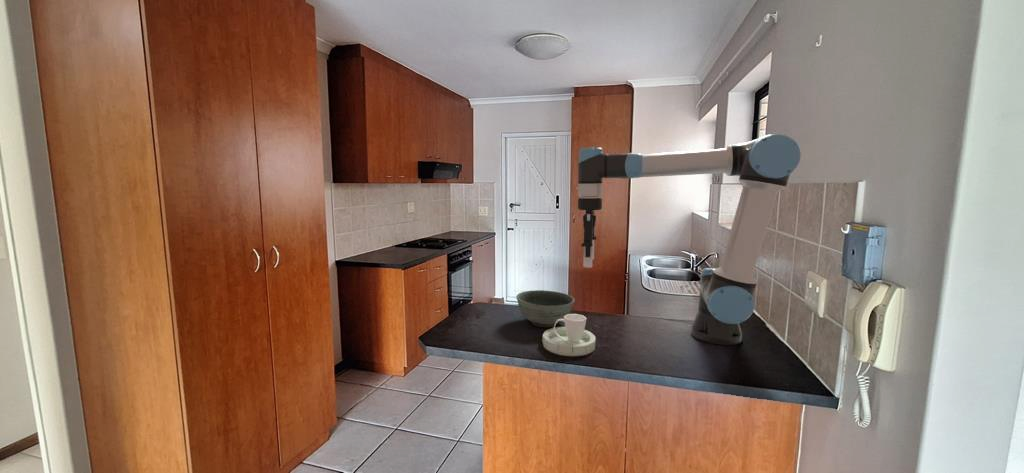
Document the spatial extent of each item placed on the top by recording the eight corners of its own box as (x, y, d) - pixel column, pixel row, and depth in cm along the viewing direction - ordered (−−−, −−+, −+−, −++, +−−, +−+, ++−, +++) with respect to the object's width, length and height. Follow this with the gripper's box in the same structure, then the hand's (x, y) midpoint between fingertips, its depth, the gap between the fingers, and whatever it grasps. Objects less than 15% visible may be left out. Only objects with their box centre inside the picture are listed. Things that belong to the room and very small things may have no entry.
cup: (585, 347, 124) (586, 321, 123) (552, 344, 126) (553, 319, 124) (585, 338, 130) (586, 314, 129) (554, 336, 132) (555, 312, 131)
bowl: (504, 326, 143) (505, 298, 142) (533, 310, 161) (533, 285, 160) (558, 339, 133) (559, 309, 131) (582, 320, 150) (583, 294, 149)
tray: (596, 338, 133) (597, 329, 133) (592, 359, 118) (592, 349, 117) (548, 333, 137) (548, 324, 137) (538, 352, 122) (538, 342, 122)
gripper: (580, 195, 143) (579, 255, 146) (574, 199, 119) (574, 270, 121) (602, 195, 141) (601, 256, 144) (601, 199, 117) (599, 271, 120)
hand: (588, 263), depth 133 cm, fingers open, 13 cm apart
